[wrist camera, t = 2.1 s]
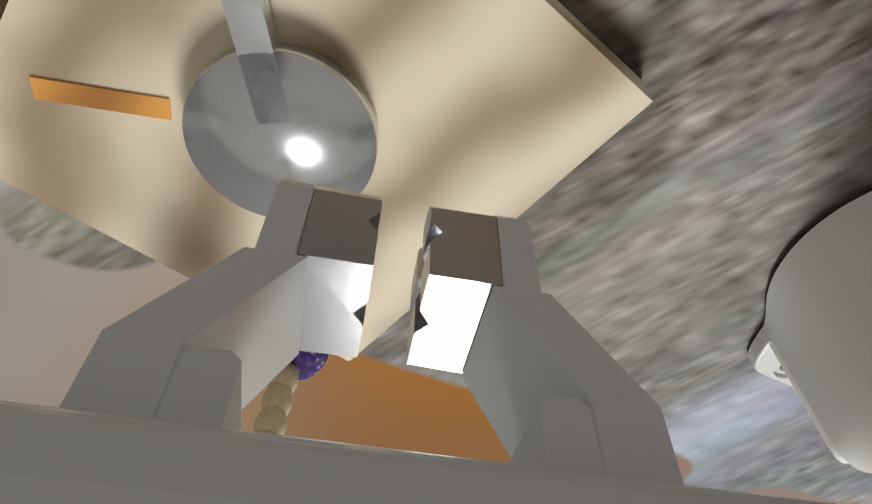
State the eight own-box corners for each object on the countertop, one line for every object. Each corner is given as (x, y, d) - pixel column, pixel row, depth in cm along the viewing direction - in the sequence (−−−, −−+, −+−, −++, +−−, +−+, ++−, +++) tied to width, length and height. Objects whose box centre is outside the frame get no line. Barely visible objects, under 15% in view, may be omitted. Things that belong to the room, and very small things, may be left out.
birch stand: (641, 79, 29) (653, 102, 27) (353, 335, 40) (349, 362, 38) (178, -360, 20) (154, -366, 18) (-28, 129, 31) (-54, 152, 29)
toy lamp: (349, 354, 40) (274, 655, 28) (303, 383, 43) (215, 673, 30) (288, 312, 38) (177, 615, 26) (243, 345, 41) (121, 637, 28)
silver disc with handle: (390, 201, 30) (381, 276, 26) (222, 212, 31) (189, 286, 27) (329, -165, 21) (302, -134, 17) (89, -141, 21) (10, -105, 17)
